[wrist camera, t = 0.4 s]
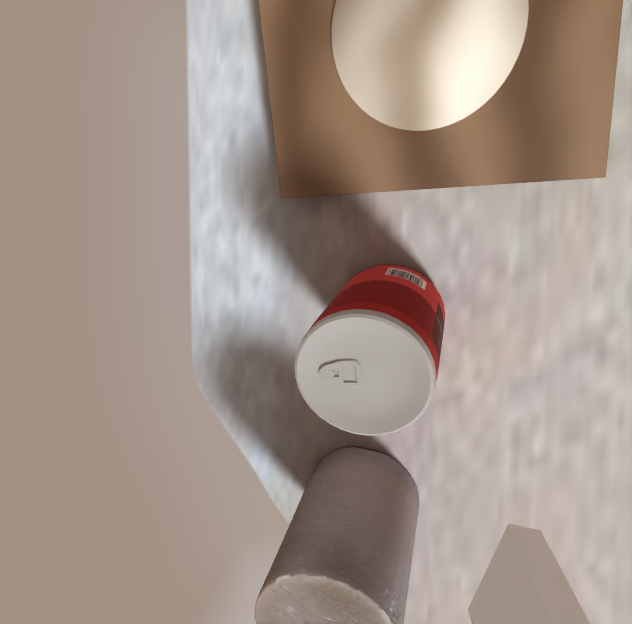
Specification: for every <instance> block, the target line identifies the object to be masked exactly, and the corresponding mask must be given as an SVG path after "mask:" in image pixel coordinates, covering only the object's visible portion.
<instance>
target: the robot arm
mask: <svg viewBox="0 0 632 624" xmlns="http://www.w3.org/2000/svg"><path fill="white" fill-rule="evenodd" d="M468 611H469V615H470V618H471V622H472V624H590V623H589V621H588V619H587V617H586V615H585V613H584V611H583V609H582V608H581V606H580V604H579V602H578V600H577V598H576V596H575V594H574V593H573V591H572V589H571V587H570V585H569V583H568V581H567V579H566V577H565V576H564V574H563V572H562V570H561V568H560V566H559V564H558V562H557V561H556V559H555V557H554V555H553V553H552V551H551V549H550V547H549V546H548V544H547V542H546V540H545V538H544V536H543V534H542V532H541V531H540V530H536V529H531V528H526V527H522V526H517V525H513V524H508V526H507V528H506V530H505V532H504V534H503V537H502V539H501V541H500V543H499V545H498V547H497V549H496V551H495V554H494V556H493V558H492V560H491V562H490V564H489V566H488V568H487V570H486V573H485V575H484V577H483V579H482V581H481V583H480V585H479V587H478V590H477V592H476V594H475V596H474V598H473V600H472V602H471V604H470V607H469V609H468Z"/></svg>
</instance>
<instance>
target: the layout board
mask: <svg viewBox="0 0 632 624" xmlns="http://www.w3.org/2000/svg"><path fill="white" fill-rule="evenodd" d="M258 1H259V10H260V18H261V27H262V36H263V44H264V53H265V62H266V70H267V79H268V88H269V97H270V105H271V114H272V123H273V131H274V140H275V149H276V158H277V166H278V175H279V184H280V192H281V198H293V197H309V196H324V195H340V194H355V193H371V192H386V191H402V190H417V189H433V188H448V187H464V186H479V185H495V184H510V183H526V182H541V181H557V180H572V179H588V178H603V177H606V168H607V158H608V148H609V137H610V127H611V117H612V107H613V97H614V87H615V77H616V66H617V56H618V46H619V36H620V26H621V16H622V6H623V0H258Z"/></svg>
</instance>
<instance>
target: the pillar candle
mask: <svg viewBox="0 0 632 624" xmlns="http://www.w3.org/2000/svg"><path fill="white" fill-rule="evenodd" d="M418 509H419V495H418V490H417V487H416V484H415V482H414V480H413V479H412V477H411V475H410V474H409V473H408V471H407V470H406V469H405V468H404V467H403V466H402V465H401V464H400V463H399V462H397V461H396V460H395V459H394V458H392V457H390V456H388V455H386V454H383V453H379V452H376V451H372V450H368V449H362V448H356V447H347V448H342V449H338V450H335V451H334V452H332V453H329V454H328V455H326V456H325V457H324V458H323V459H322V460H321V461H320V462H319V464H318V465H317V467H316V468H315V471H314V473H313V474H312V475H311V478H310V480H309V482H308V484H307V486H306V488H305V491H304V493H303V496H302V498H301V500H300V502H299V505H298V507H297V509H296V512H295V514H294V516H293V519H292V521H291V523H290V525H289V528H288V530H287V532H286V535H285V537H284V539H283V541H282V544H281V546H280V548H279V551H278V553H277V555H276V557H275V560H274V562H273V565H272V567H271V569H270V571H269V573H268V575H267V578H266V579H265V582H264V584H263V587H262V589H261V590H260V593H259V595H258V598H257V601H256V606H255V620H256V623H257V624H404V616H405V608H406V601H407V594H408V585H409V577H410V569H411V561H412V553H413V546H414V539H415V532H416V524H417V517H418Z"/></svg>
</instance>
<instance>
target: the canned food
mask: <svg viewBox="0 0 632 624" xmlns="http://www.w3.org/2000/svg"><path fill="white" fill-rule="evenodd" d="M444 322H445V310H444V304H443V301H442V299H441V296H440V294H439V293H438V291H437V290H436V288H435V287H434V285H433V284H432V283H431V282H430V281H429V280H428V279H427V278H425V277H424V276H422V275H421V274H419V273H418V272H416V271H414V270H411V269H409V268H406V267H402V266H398V265H380V266H374V267H371V268H368V269H365V270H363V271H362V272H360V273H358V274H356V275H355V276H354V277H353V278H352V279H351V280H349V281H348V283H347V284H346V285H345V286H344V287H343V289H342V290H341V291H340V292H339V293H338V295H337V296H336V297H335V298H334V299H333V301H332V302H331V303H330V304H329V305H328V307H327V308H326V309H325V310H324V311H323V313H322V314H321V315H320V316H319V318H318V319H317V320H316V321H315V322H314V324H313V325H312V327H311V328H310V329H309V331H308V332H307V333H306V335H305V336H304V337H303V339H302V342H301V343H300V346H299V348H298V350H297V353H296V358H295V363H294V368H295V378H296V382H297V386H298V389H299V391H300V393H301V395H302V397H303V399H304V400H305V401H306V403H307V404H308V405H309V407H310V408H311V409H312V410H313V411H314V412H315V413H316V414H317V415H318V416H319V417H320V418H322V419H323V420H325V421H326V422H328V423H329V424H331V425H333V426H335V427H337V428H339V429H341V430H344V431H347V432H350V433H353V434H359V435H366V436H376V435H385V434H390V433H394V432H397V431H399V430H402V429H404V428H406V427H408V426H409V425H411V424H412V423H414V422H415V421H416V420H417V419H418V418H419V417H420V416H421V415H422V414H423V413H424V412H425V410H426V408H427V407H428V405H429V403H430V401H431V399H432V396H433V393H434V390H435V387H436V380H437V376H438V368H439V360H440V353H441V345H442V338H443V330H444Z"/></svg>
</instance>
